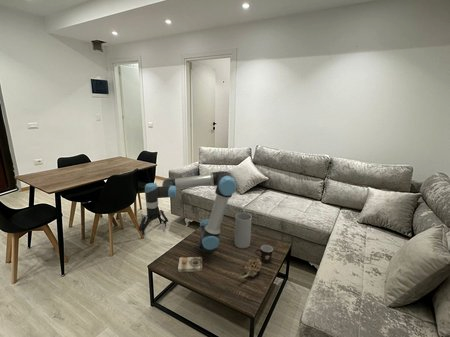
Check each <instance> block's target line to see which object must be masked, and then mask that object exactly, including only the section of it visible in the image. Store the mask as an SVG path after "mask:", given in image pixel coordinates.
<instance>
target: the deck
mask: <svg viewBox="0 0 450 337" xmlns="http://www.w3.org/2000/svg"><path fill="white" fill-rule="evenodd" d="M183 258H186V259H187V263H183V262H182V259H183ZM202 271H203V256H189V257H188V256H187V257H186V256H185V257H184V256H183V257H179V260H178V267H177V272H178V273H185V272H187V273H188V272H202Z"/></svg>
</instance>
